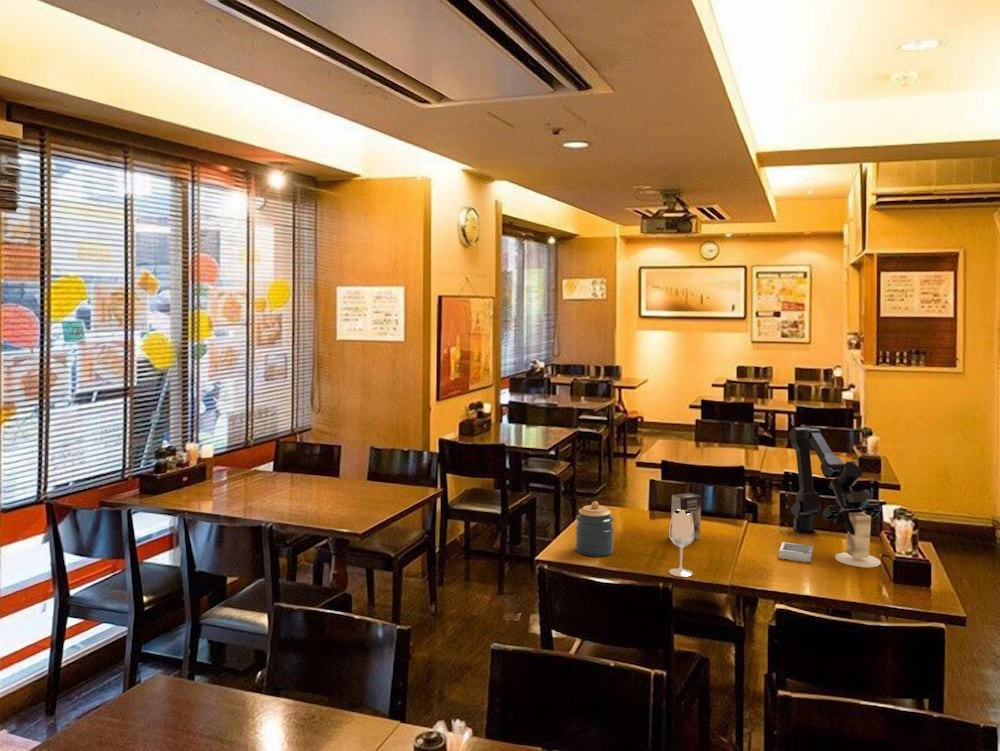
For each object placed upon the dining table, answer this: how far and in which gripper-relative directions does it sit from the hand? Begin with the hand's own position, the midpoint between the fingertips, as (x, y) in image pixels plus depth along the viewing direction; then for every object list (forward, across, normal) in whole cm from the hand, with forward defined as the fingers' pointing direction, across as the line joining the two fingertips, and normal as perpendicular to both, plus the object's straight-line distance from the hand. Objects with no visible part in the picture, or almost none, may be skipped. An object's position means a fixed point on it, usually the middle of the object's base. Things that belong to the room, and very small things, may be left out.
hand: (861, 534), depth 266 cm
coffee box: (-16, -48, +30) cm, 59 cm away
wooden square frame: (+1, -18, +12) cm, 22 cm away
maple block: (+4, 0, +6) cm, 8 cm away
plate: (+6, 0, +8) cm, 10 cm away
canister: (-8, -86, +22) cm, 89 cm away
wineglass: (+9, -64, +5) cm, 64 cm away
